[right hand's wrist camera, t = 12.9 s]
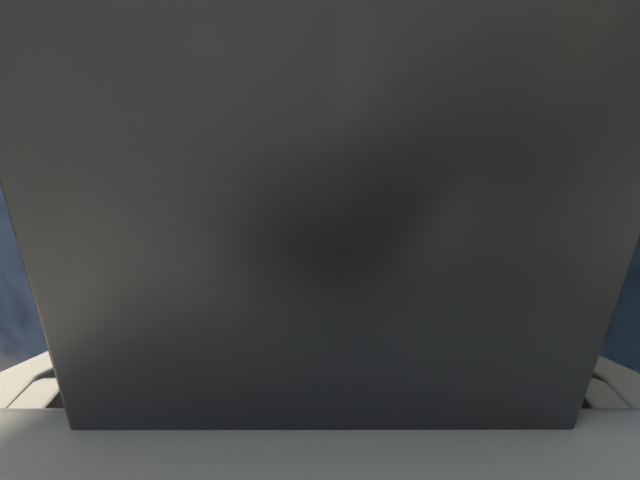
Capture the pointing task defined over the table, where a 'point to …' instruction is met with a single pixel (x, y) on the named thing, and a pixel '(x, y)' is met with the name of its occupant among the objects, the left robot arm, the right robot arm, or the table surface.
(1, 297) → the table surface
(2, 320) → the table surface
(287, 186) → the box
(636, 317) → the table surface
